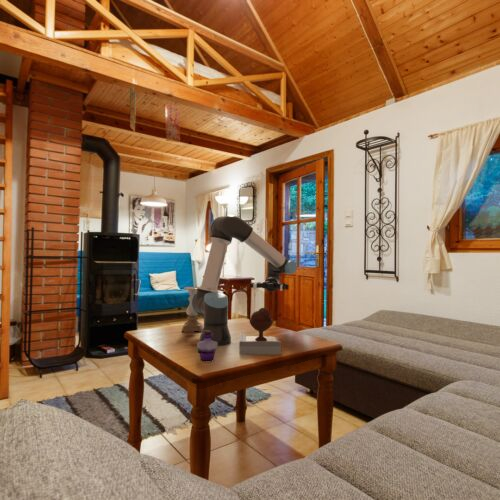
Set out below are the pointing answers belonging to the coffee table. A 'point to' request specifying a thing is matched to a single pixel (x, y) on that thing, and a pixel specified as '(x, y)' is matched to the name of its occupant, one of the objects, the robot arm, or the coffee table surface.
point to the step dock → (259, 345)
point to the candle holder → (191, 314)
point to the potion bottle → (207, 346)
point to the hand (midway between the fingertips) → (267, 287)
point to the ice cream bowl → (261, 322)
